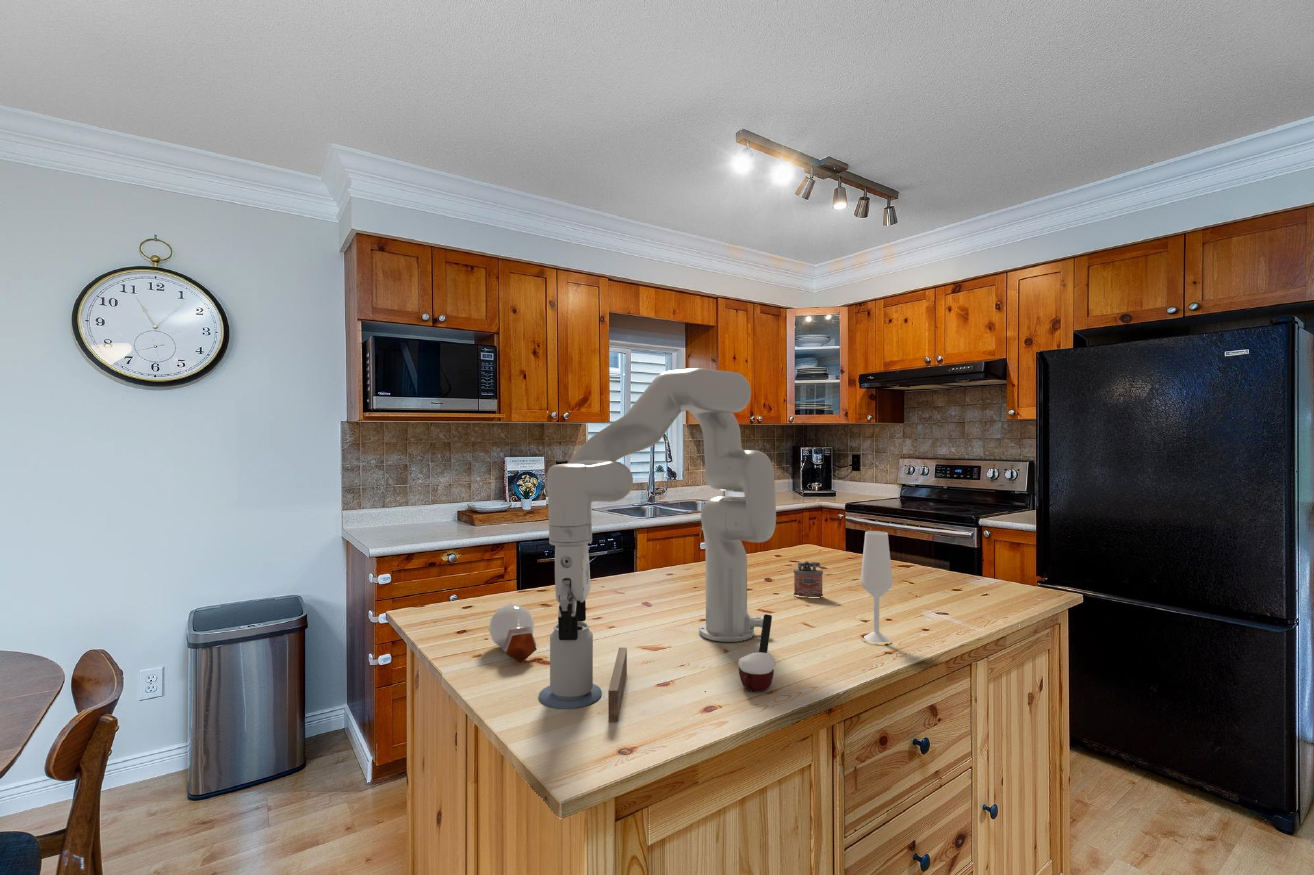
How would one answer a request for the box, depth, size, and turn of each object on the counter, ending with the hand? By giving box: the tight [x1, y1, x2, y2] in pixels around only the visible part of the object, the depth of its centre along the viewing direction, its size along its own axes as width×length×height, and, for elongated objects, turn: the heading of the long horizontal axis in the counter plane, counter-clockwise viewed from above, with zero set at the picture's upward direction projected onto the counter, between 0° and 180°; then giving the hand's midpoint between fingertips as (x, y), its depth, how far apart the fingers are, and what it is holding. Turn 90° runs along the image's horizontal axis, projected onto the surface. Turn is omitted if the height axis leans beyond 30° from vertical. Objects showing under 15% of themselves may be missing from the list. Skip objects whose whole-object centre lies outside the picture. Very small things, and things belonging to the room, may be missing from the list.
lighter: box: [793, 560, 824, 597], centre depth 175 cm, size 8×3×10 cm, turn 80°
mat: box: [538, 683, 603, 710], centre depth 109 cm, size 11×11×1 cm
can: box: [549, 621, 594, 700], centre depth 110 cm, size 8×8×12 cm
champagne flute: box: [860, 530, 894, 642], centre depth 138 cm, size 7×7×24 cm
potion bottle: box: [488, 603, 537, 664], centre depth 132 cm, size 9×10×15 cm
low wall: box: [607, 647, 628, 723], centre depth 109 cm, size 2×20×5 cm, turn 178°
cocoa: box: [737, 613, 776, 692], centre depth 113 cm, size 10×6×12 cm, turn 122°
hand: (572, 629), depth 110 cm, fingers open, 9 cm apart
